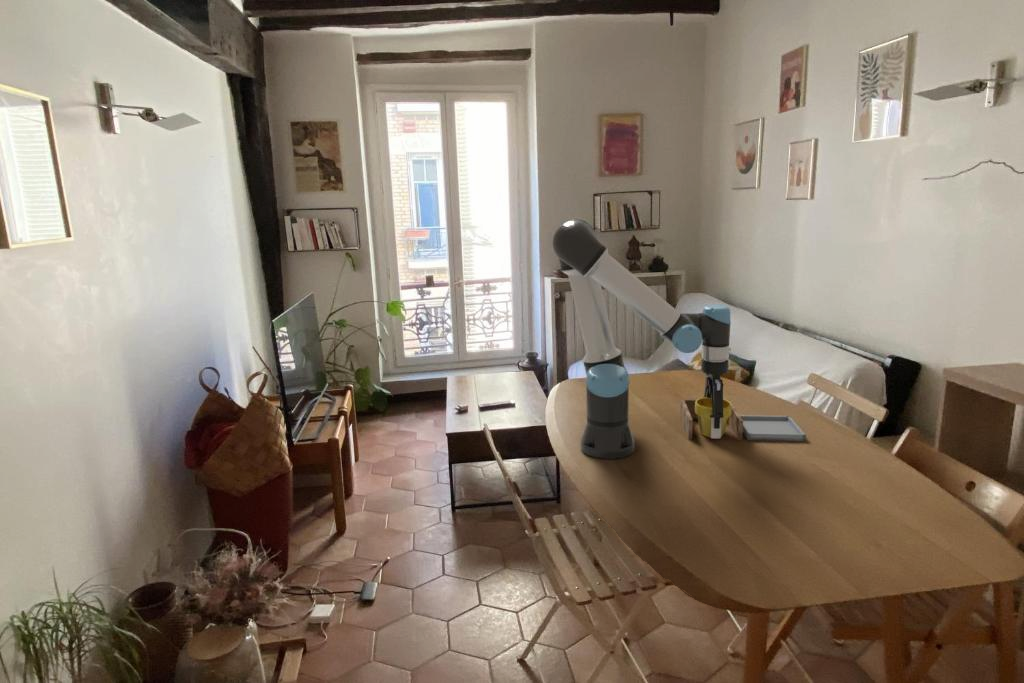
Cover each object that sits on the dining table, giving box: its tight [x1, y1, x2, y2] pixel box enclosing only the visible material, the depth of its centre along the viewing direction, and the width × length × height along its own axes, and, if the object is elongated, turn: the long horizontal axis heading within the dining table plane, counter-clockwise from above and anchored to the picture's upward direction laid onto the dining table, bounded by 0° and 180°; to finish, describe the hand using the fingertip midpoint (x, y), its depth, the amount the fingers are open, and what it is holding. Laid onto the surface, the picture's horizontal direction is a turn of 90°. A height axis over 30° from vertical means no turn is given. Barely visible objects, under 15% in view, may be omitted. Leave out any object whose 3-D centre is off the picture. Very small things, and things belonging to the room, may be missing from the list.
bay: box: [679, 398, 743, 441], centre depth 188 cm, size 19×15×6 cm
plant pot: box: [695, 396, 733, 438], centre depth 183 cm, size 10×10×10 cm
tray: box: [739, 414, 806, 442], centre depth 185 cm, size 16×16×2 cm
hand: (712, 431), depth 184 cm, fingers closed on plant pot, 10 cm apart
